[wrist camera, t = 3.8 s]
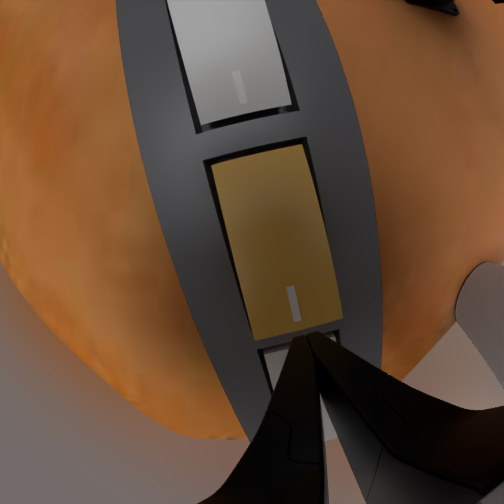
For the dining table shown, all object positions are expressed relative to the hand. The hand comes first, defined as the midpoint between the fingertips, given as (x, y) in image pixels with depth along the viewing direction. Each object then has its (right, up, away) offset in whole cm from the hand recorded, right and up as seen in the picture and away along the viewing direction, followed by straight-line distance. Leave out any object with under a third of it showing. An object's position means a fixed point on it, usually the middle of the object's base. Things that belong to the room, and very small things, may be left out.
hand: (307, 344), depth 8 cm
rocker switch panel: (-1, +5, +8) cm, 9 cm away
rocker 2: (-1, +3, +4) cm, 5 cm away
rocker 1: (-3, +12, +1) cm, 13 cm away
